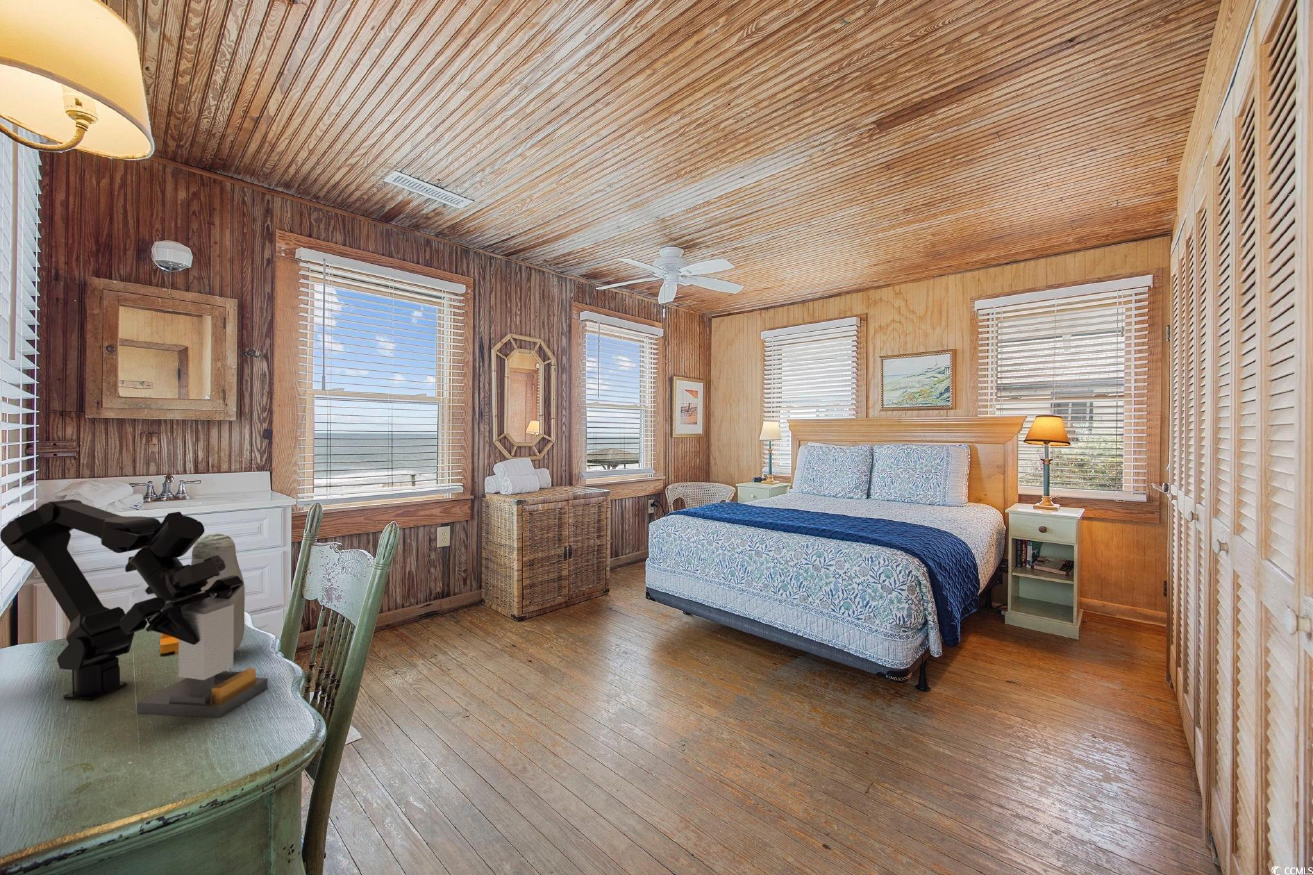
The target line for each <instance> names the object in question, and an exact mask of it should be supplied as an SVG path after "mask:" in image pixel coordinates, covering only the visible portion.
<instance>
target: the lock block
mask: <svg viewBox="0 0 1313 875" xmlns="http://www.w3.org/2000/svg"><path fill="white" fill-rule="evenodd" d="M182 616H183V618H184V619H185V620H186V622H187V623H188V625H189V626H190V627H191V629H192V630H193V631H194V633H195V634H196V636H197V638H198V640H199V641H198V643H197V644H195V645H192V644H190V643H187V642H184V641H182V640H179V654H178V678H184V679H185V678H192V679H199V680H205V679H208V678H210V677H212V676H215V675H216V674H218V673H221V672H223V671H228V670H230V669H231V668H234V653H233V647H234V604H231V599H221V598H211V597H208V598H205V599H202V600H199V601H195V602H192V603H189V604H186V605H183V606H182Z"/></svg>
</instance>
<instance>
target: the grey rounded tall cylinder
mask: <svg viewBox="0 0 1313 875" xmlns="http://www.w3.org/2000/svg"><path fill="white" fill-rule="evenodd" d="M216 555H218V556H219V557H220V558H221V559H222V560H223V561H224V563H225V566H226V567H225V569H224V570H222V571H220V575H219V576H214V577H212V578H210V579H208V580H207V581H208V584H207V585H206V586H205V587H202V588H201V590H202V591H204V590H207V589H209V588H210V587H211V586H212V584H213V583H214V582H215V581H216V580H218V579H222V578H225V577H229V576H232V575H235V576H239V578H240V579H241V580H242V581H243V583H244V584H243V586H242V587H241V588H240V589H239V590H238V591H237V592H236V593H235V594H234V595H233V596H232V597H231V598H230V599H231V604H234V647H233V654H234V653H235V652H236V651H237V650H238V648H239V647H240V645H241V644H242V642H243V640H244V635H245V604H246V602H245V600H246V597H245V594H246V593H245V590H246V589H245V588H246V587H245V582H244V581H245V580H244V577H243V573H242V571H241V569H240V564H239V561H238V557H237V552H236V543H235V542H234V540H233V539H232V538H231V536H229V535H227V534H224V533H223V534H222V533H214V534H208V535H205V536H203V537H202V536H201V537H200V538H199V539H198V540H197V541H196V542H195V544H194V545H193V546H192V550H191V561H190V562H191V563H190V565H194V564H197V563H201V562H204V559H208V558H209V557H212V556H216Z"/></svg>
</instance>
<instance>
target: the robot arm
mask: <svg viewBox="0 0 1313 875" xmlns="http://www.w3.org/2000/svg"><path fill="white" fill-rule="evenodd" d="M73 530H77V531H79V532H82V533H85V534H88V535H91V536H95V537H97V538H99V539H100V544H101V545H102V546H103V547H105V548H107V549H108V550H110V551H112V552H114V553H116V554H122V553H123V554H124V553H128V552H132V551H136V550H138V551H137V552H136V553H135V554H134V555H133V556H129V557H128V559H127V560H128V561H127V564H126V565H125V567H124V568H125V570H124V571H125V573H130V572H133V571H137V573H138V574H139V576H141V578H142V580H144V582H145V583H146V585H147V586H148V587H147V588H145V590H144V592H145V593H146V595H147V596H148V595H153V594H154V595H155V597H153V598H149V599H146V600H142V601H138V602H135V603H134V604H133V605H132V606H131V608H129V610H128V611H127V612H125V610H124V609H123V608H122V607H120V606H117V607H113V608H109V607H106V606H104V604H103V603H102V601H101V600H100V598H99V597H98V595H97V594H96V592H95V590H94V589H93V588H92V586H91V584H90V583H89V581H88V579H87V578H86V576H85V575H84V573H83V571H82V569H80V567H79V566H78V564H77V562H76V561H75V559H74V558H73V556H72V554H71V553H70V551H69V550H68V546H69V543H70V540H71V538H72V534H71V531H73ZM203 534H205V526H204V524H203V523H202V522H201V521H199V520H197V519H195V518H194V517H191V516H188V515H183V514H182V512H181V511H175V512H168V513H167V515H165V517H164V519H163V520H162V521H160V520H159V519H158V518H155V517H149V516H142V515H141V516H140V515H138V516H137V515H136V516H132V515H131V516H128V515H127V516H126V515H120V514H117V513H114V512H110V511H107V510H104V509H101V508H98V507H94V506H93V505H92V506H91V505H89V504H86V503H83V502H82V501H81V500H79V499H64V500H63V499H62V500H61V499H60V500H53V501H48V502H46V503H43V504H41V505H40V506H39V507H38V508H36V509H34V510H32V511H30V512H27V513H24V514H22V515H20V516H18V517H16V518H14V519H13V520H10V521H9V522H8V523H7V524H6V525H5V526H4V527H2V529H1V530H0V541H1V542H2V543H3V544H4V545H5V547H7V549H8V550H9V551H10V552H11V553H12V555H13V556H15V557H17V558H20V559H22V560H25V561H27V562H30V563H32V564H33V565H34V567H35V568H36V570H37V571H38V573H39V575H40V577H41V579H42V580H43V581H44V583H45V584H46V587H48V590H49V591H50V593H51V594H52V596H53V597H54V598H55V601H56V602H57V603H58V605H59V607H60V608H61V610H62V611H63V613H64V614H65V616H66V618H67V619H68V621H69V627H68V631H67V634H66V637H65V638H66V641H67V643H68V644H67V645H66V647H65V648H64V649H63V650H62V651H61V653H60V654H59V655H58V656H57V658H56V661H57V664H58V667H59V669H61V670H67V671H68V670H69V671H71V678H72V679H71V686H72V691H71V692H68V693H66V694H64V695H63V696H62V699H65V700H67V699H68V700H70V699H71V700H85V701H86V700H87V701H93V700H96V699H98V698H100V697H103V696H105V695H107V694H109V693H111V692H114V691H116V690H118V689H120V688H123V687H124V686H127V685H128V681H122V680H121V669H120V668H121V667H120V665H119V659H120V658H119V656H122V655H124V654H128V653H130V650H131V647H132V643H133V639H134V636H135V633H136V632H139V631H142V630H144V629H145V631H146V632H147V633H149V632H156V633H159V634H161V635H162V634H165V635H169V636H171V637H174V638H177V639H179V640H182V641H184V642H187V643H190V644H192V645H195V644H197V643H198V641H199V640H198V638H197V636H196V634H195V633H194V631H193V630H192V629H191V627H190V626H189V625H188V623H187V622H186V620H185V619H184V618H183V616H182V609H181V608H182V606H183V605H186V604H189V603H192V602H195V601H199V600H202V599H205V598H208V597H211V598H221V599H230V598H231V597H232V596H233V595H234V594H235V593H236V592H237V591H238V590H239V589H240V588H241V587H242V586H243V584H244V585H245V582H244V583H243V581H242V580H241V579H240V578H239V576H235V575H232V576H229V577H225V578H222V579H218V580H216V581H215V582H214V583H213V584H212V586H211V587H210V588H209V589H207V590H204V591H202V590H201V588H202V587H205V586H206V585H207V584H208V581H207V580H208V579H210V578H212V577H214V576H219V575H220V571H222V570H224V569H225V567H226V566H225V563H224V561H223V560H222V559H221V558H220V557H219V556H218V555H216V556H212V557H209V558H208V559H204V562H201V563H197V564H194V565H191V563H190V564H189V563H188V564H186V565H183V563H182V561H180V559H179V558H180V557H182V556H185V555H186V554H187V553H188V551H189V550H191V549H192V548H193V547H194V545H195V543H196V542H197V541H198V540H199V539H200V538H202V536H203ZM147 624H149V625H148V626H147ZM146 626H147V627H146Z"/></svg>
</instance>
